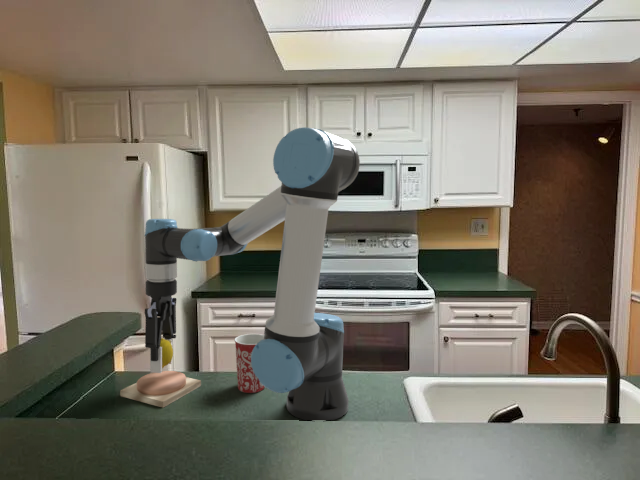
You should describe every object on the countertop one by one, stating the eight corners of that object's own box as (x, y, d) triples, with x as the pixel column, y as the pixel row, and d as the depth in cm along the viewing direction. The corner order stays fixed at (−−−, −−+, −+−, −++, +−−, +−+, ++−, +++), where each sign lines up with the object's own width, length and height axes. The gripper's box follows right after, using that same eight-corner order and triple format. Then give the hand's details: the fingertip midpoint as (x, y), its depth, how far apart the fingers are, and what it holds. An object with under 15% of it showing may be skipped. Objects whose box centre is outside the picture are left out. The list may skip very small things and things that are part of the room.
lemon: (171, 363, 117) (171, 334, 117) (174, 370, 112) (174, 340, 112) (149, 366, 115) (149, 336, 114) (151, 373, 110) (151, 342, 109)
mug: (250, 398, 111) (250, 346, 110) (227, 388, 117) (227, 338, 116) (284, 383, 121) (285, 335, 120) (261, 374, 127) (262, 328, 126)
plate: (201, 385, 118) (201, 375, 118) (163, 407, 105) (163, 395, 105) (160, 376, 123) (160, 366, 123) (120, 396, 111) (120, 384, 110)
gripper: (163, 272, 121) (163, 354, 123) (128, 285, 103) (129, 381, 105) (189, 274, 121) (189, 355, 123) (159, 287, 102) (159, 383, 104)
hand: (161, 367), depth 114 cm, fingers closed on lemon, 5 cm apart
